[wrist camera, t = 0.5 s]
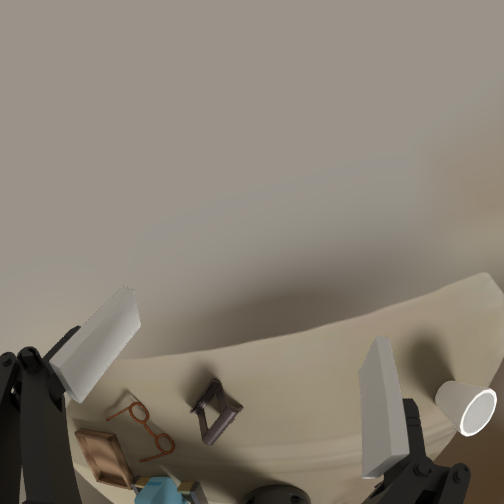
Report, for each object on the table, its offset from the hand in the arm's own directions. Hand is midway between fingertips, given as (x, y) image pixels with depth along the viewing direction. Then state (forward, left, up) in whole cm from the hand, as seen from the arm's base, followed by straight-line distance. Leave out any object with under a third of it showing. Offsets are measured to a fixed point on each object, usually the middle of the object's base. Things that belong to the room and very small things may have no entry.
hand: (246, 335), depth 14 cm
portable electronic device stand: (-18, +13, -35) cm, 41 cm away
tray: (-34, +46, -35) cm, 67 cm away
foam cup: (-29, -33, -35) cm, 56 cm away
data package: (-43, +31, -35) cm, 63 cm away
